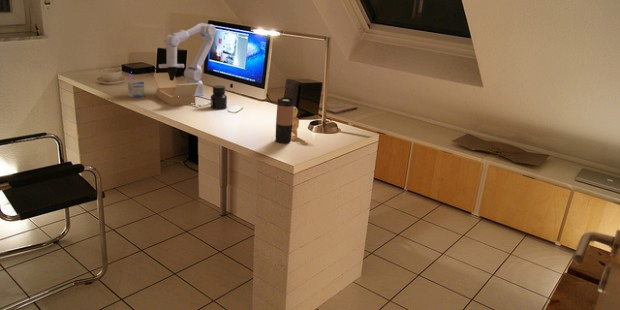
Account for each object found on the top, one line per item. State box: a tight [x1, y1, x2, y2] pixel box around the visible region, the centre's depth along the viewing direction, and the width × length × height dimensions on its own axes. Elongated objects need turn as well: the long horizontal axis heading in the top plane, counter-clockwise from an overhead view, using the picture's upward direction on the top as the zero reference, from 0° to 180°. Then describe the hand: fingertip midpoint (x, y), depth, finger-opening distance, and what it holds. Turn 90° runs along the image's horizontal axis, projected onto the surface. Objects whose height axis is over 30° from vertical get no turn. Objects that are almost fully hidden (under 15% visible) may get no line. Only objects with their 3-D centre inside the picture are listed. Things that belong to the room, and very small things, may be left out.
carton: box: [156, 87, 196, 107], centre depth 278 cm, size 14×22×5 cm, turn 38°
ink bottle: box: [210, 84, 228, 110], centre depth 270 cm, size 10×9×12 cm
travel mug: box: [275, 97, 295, 144], centre depth 222 cm, size 8×8×20 cm
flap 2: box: [173, 83, 199, 97], centre depth 265 cm, size 10×12×1 cm
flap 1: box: [153, 72, 178, 89], centre depth 286 cm, size 10×12×1 cm
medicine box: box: [127, 80, 145, 99], centre depth 278 cm, size 8×4×9 cm, turn 143°
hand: (171, 80), depth 280 cm, fingers closed
